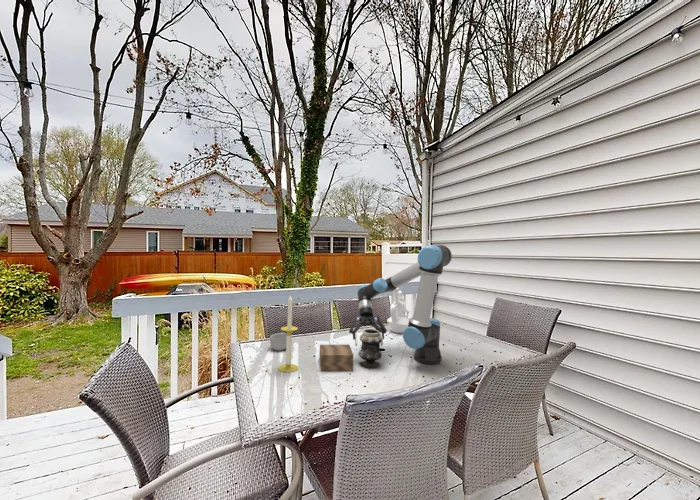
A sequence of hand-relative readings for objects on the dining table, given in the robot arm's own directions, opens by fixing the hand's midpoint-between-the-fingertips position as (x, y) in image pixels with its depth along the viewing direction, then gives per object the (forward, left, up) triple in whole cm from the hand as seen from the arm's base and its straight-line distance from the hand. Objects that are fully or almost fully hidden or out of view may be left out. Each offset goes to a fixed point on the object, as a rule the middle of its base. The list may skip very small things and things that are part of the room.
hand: (369, 344), depth 182 cm
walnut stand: (+17, 0, -10) cm, 20 cm away
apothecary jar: (-1, 0, -11) cm, 11 cm away
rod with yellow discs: (+41, +4, -11) cm, 43 cm away
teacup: (+47, -26, -11) cm, 55 cm away
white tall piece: (-31, -58, -11) cm, 67 cm away
